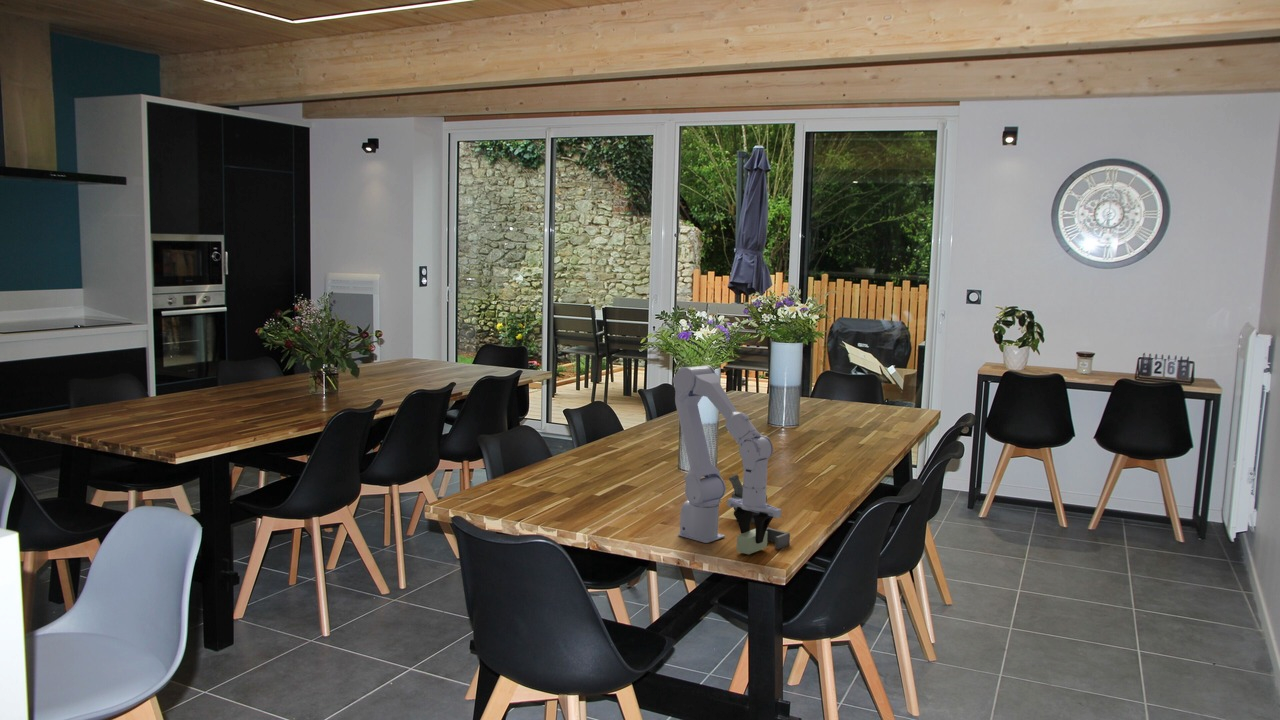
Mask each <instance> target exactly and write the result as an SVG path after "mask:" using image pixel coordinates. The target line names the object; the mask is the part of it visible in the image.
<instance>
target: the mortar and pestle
mask: <svg viewBox="0 0 1280 720" xmlns="http://www.w3.org/2000/svg"><path fill="white" fill-rule="evenodd" d="M739 478H740V476H739V475H738V474H732V475H731V476H729V478H728V480H729V481H730V483H731V485H732V489H733V493H731V498H736V499H742V495H743V483H741V480H740V479H739ZM767 502H768V495H767V494H766V504H768V503H767ZM732 508H733V510H734V511H736V510H737V508H735V507H732ZM756 515H759V513H756V512H753V513H752V517H751V522H750V524H755V521H754V516H756Z"/></svg>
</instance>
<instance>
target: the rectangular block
mask: <svg viewBox="0 0 1280 720" xmlns="http://www.w3.org/2000/svg"><path fill="white" fill-rule="evenodd" d="M767 534H768V532H767V531H766V532H765V535H764V539H763V542H762V543H759V544H757V543H756V528H753V529H750V531H748V532H745V533H742V534H741V533H740V534H737V536H736V552H737V553H742V554H746V555H751V554H753V553H754V554H755V553H757V552H758V551H761V550H764V549H766V548H767V547H768V541H767Z"/></svg>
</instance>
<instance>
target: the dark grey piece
mask: <svg viewBox="0 0 1280 720" xmlns="http://www.w3.org/2000/svg"><path fill="white" fill-rule="evenodd" d="M766 531H767V532H768V534H767V542H772V543H774V549H775V550H780V549H783V548H785V547H787V546H789V545H790V542H791V541H790V540H791V533H790V532H788V531H784V530H780V529H776V528H771V527H767V530H766Z"/></svg>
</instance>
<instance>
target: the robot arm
mask: <svg viewBox="0 0 1280 720" xmlns="http://www.w3.org/2000/svg"><path fill="white" fill-rule="evenodd" d="M672 382H673V387H674V391H675V392H674V394H675V396H674V403H675V407H676V411H677V415H678V416H677V417H678V420H679V425H680V429H681V434H682V437H683V443H684V446H685V450H686V451H685V452H686V455H687V460H688V464H689V470H688V471H687V472H686V475H685V476H684V482H685V486H684V487H685V488H684V494H685V497H686V501H684V503H683V504H682V505H681V508H680V519H679V520H680V521H679V522H680V523H679V533H677V536H679V537H683V538H687V539H689V540H692V541H693V540H694V541H696V542H700V543H704V544H709V543H711V542H715V541H718V540H720V539H723V538H725V537H726V535H725V534H722V533H719V519H720V518H719V517H720V516H719V514H720V513H719V512H720V503H722V499H723V497H725V495H726V491H727V486H726V482H725V480H724V479H723V478H722V476H721V474H720V473H721V471H720V469H718V468H717V467H716V466H715V465H714V464H712V462H711V457H710V453H709V448H708V445H707V440H706V435H705V432H704V428H703V427H704V426H703V423H702V418H701V414H700V413H701V412H700V409H699V406H698V405H699V403H700V401H701V399H702V398H703V397H706V398H707V399H708V400H709V401H710V402H711V404H713V406H714V407H715V408H716V409H717V411H718V412H719V413H720V414H721V415H722V416H723V418H724V419H725V424H724V425H725V428H726V429H727V432H728V433H729V434H730V435H731V437H732V438H733V440H734V441H735V442H736V444H737V445H738V446H739V448H738V453H739V456H740V458H741V461H742V467H743V472H742V473H743V474H742V476H743V477H742V486H743V495H742V499H736V498H732V497H729V498H727V501H726V507H727V508H733V507H735V508H737V510H736V511H735V510H734V511H733V516H734V518H735V519H736V521H737V523H738V527H739V530H740V534H742V533H745V532H748V531H750V530H751V523H750V522H751V517H752V513H753V512H756V513H759V515H756V516H754V521H755V523H754V524H755V525H754V526H755V529H756V543H757V544H759V543H762V542H763V539H764V535H765V532H766V530H767V528H769V525H770V524H771V521H772V520H773V519H779V518H782V508H778V507H776V506H773V505H770V504H768V503H766V495H767V488H768V487H767V482H768V462H769V458H771V457H772V455H773V452H774V447H773V442H772V441H771V439H770V438H769V437H768V436H767V435H763V434H762V433H760V432H759V430H757V429H756V427H755V426H754V424H753V423H752V422H751V420H750V416H749V415H748V414H746V413H744V412H742V411H738V409H736V407H735V405H734V404H733V402H732V401H731V399H730V398H729V396H728V394H727V393H726V391H725V390H724V388H723V386H722V385H721V383H720V375H718V373H717V372H716V371H715V369H714V368H713V367H712V366H711V365H709V364H704V365H699V366H698V365H697V366H682V367H680V368H678V370H676V373H675V375H674V376H673V378H672Z"/></svg>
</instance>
